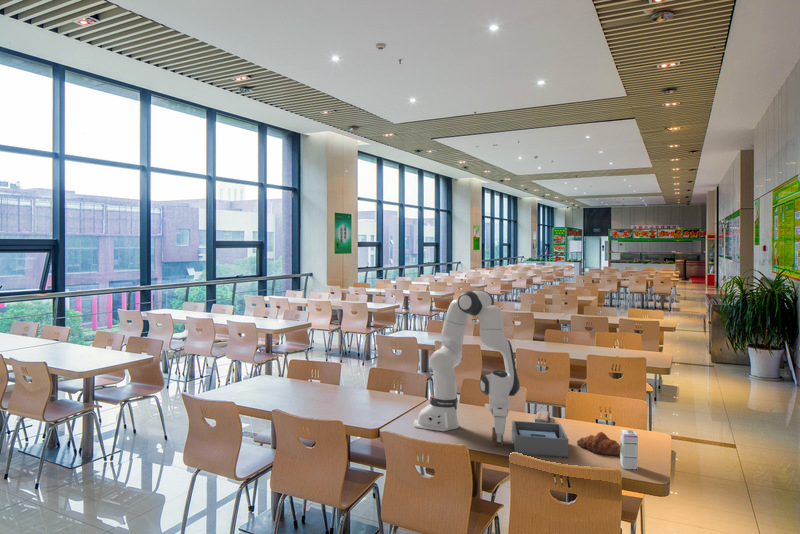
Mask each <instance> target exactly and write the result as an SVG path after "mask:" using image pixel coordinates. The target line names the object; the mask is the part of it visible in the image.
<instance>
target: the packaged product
mask: <svg viewBox="0 0 800 534" xmlns="http://www.w3.org/2000/svg"><path fill="white" fill-rule="evenodd" d="M550 415H551V413H550V411H547V410H540V411H537V412H536V413H535V415H534V416H533V419H532V422H540V423H554V416H550ZM550 417H551V418H550Z"/></svg>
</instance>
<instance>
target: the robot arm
mask: <svg viewBox="0 0 800 534" xmlns="http://www.w3.org/2000/svg"><path fill="white" fill-rule="evenodd" d="M494 304H495V300H494V297H493V295H492V294H491V293H489V292H487V291H484V290H483V291H482V290H467V291H464V292H462V293H461V294H460V295H459V296H458V298H456V299H455V298H454V299H453V300H452V301H451V302H450V304H449V306H448V309H447V312H446V313H445V318H444V322H443V325H442V329H441V333H440V335H441V346H440V348H439V349H436V350H435V351H434V352H433V353H432V354H431V355H430V358H429V366H430V367H431V369H432V374H433V381H434V382H433V383H434V388H433V389H434V393H433V394H434V395H433V394H432V395H430V396H429V404H428V405H425V407H423V408H422V409H421V410H420V411H419V412H418V417H417V418H415V419H414V421H413V427H414V428H417V429H422V430H423V429H424V430H431V431H439V432H448V431H451V430H456V429H458V428H459V427H460V425H459V421H458V412H457V409H458V397H457V392H458V387H457V386H458V382H457V380H456V377H455V376H456V375H455V370H454V369H455V368H456V367H457V366H458V365H459V364H460V363H461V361H462V359H463V342H464V337H465V333H466V329H467V324H468V320H469V317H470V316H473V317H476V316H477V317H478V320H479V338H480V340H481V342H482V344H483V345H484V346H486V347H488V348H490V349H491V350H495V351H496V352H498V353H500V354H501V355H502V358H503V363H504V368H505V370H502V369H501V370H500V369H496V370H495V369H494V370H492V371H491V373H490V374H484V375H482V377H481V378H480V379H479V380H480V381H479V390H480V392H481V393H482V394H483V395H485V396H489V401H488V403H489V404H488V411H489V412H490V413H491V415H492V417H493V424H494V425H493V426H494V427H495V432H496V434H497V442H501V437H502V434H503V435H504V434H505V431H506V423H507V417H508V415H509V412H510V398H509V397H514V396H515V395H516V394H518V392H519V391H520V387H521V386H520V380H519V376H518V373H517V367H516V363H515V357H514V351H513V346H512V344H511V341H510V340H509V339H507V338H506V335H505V331H504V330H505V329H504V317H503V313H502V312H503V311H502V309H501V308H500V307H499V306H497V305H494Z"/></svg>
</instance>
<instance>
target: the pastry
mask: <svg viewBox="0 0 800 534" xmlns="http://www.w3.org/2000/svg"><path fill="white" fill-rule="evenodd" d="M576 443H577V446H579V447H580V448H582V449H585V450H588V451H589V452H592V453H594V454H596V453H597V455H598V454H599V455H602V454H603V455H602V456H613V455H614V457H620V444H619V443H618V442H617V441H616V440H614V439H610V437H609V436H607V435H606V434H605V433H604V432H603V431H599V432H597V434H596V435H593V434H590V435H588V436H586V437H580V438H579V439H578V440H577V442H576Z"/></svg>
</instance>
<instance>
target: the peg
mask: <svg viewBox="0 0 800 534" xmlns="http://www.w3.org/2000/svg"><path fill="white" fill-rule="evenodd" d="M491 434H492V435H491V445H494V446H493V447H501V446H503V445H504V443H503V441H504V434H502V437H501V442H497V434H496V432H495V426H493V427H492V433H491Z"/></svg>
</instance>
